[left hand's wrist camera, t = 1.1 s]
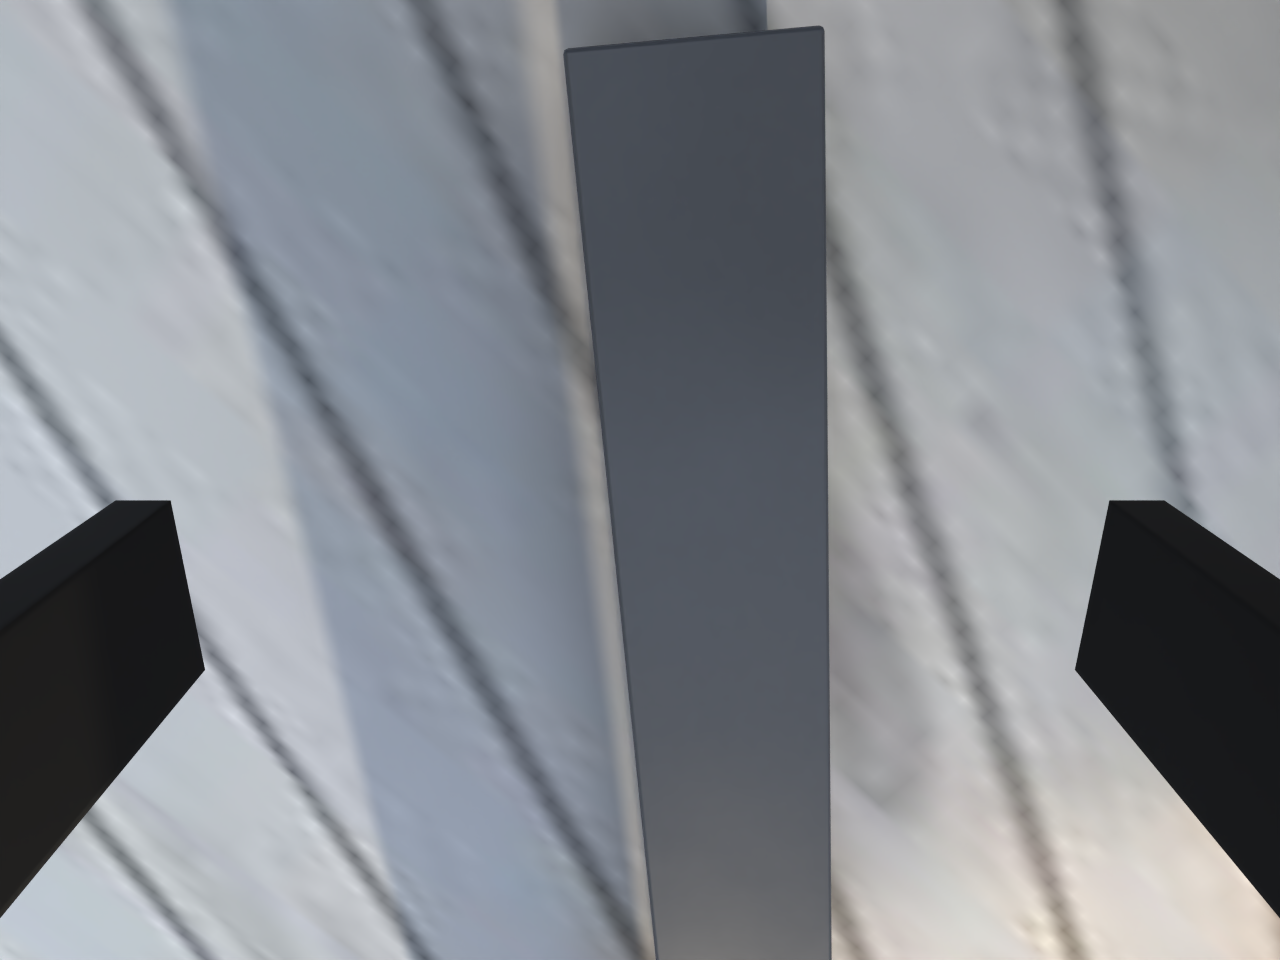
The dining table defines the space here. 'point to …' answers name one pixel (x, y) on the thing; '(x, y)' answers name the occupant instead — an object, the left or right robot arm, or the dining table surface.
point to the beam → (717, 467)
